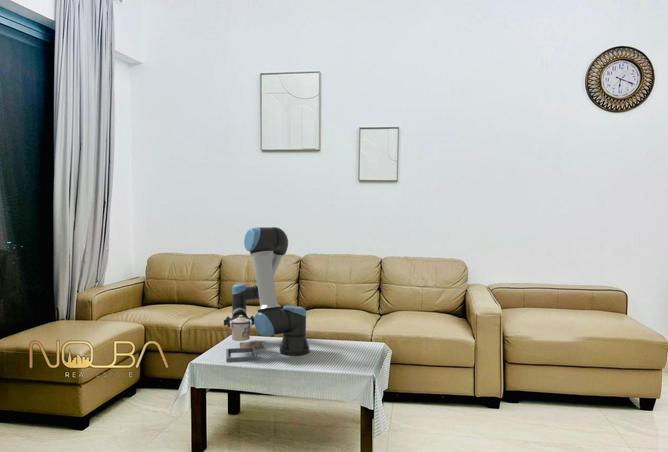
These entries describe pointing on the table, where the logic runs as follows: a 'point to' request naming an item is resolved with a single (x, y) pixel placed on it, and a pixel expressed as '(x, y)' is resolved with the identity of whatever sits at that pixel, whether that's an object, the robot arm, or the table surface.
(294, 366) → the table surface
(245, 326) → the teacup with lid
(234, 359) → the holder tray
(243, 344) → the walnut coaster
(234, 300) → the robot arm
